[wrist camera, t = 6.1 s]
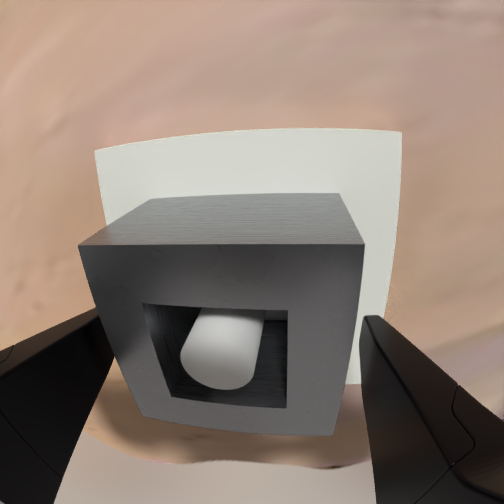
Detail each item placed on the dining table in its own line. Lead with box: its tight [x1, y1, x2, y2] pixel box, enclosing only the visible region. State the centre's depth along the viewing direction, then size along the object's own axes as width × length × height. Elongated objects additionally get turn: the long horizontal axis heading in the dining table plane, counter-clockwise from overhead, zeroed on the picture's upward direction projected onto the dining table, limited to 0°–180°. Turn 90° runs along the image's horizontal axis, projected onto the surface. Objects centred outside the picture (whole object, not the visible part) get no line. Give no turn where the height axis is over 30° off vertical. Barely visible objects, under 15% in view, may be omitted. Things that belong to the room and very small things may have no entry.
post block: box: [95, 128, 402, 390], centre depth 9 cm, size 10×10×5 cm
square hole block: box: [78, 193, 365, 436], centre depth 9 cm, size 6×6×4 cm
